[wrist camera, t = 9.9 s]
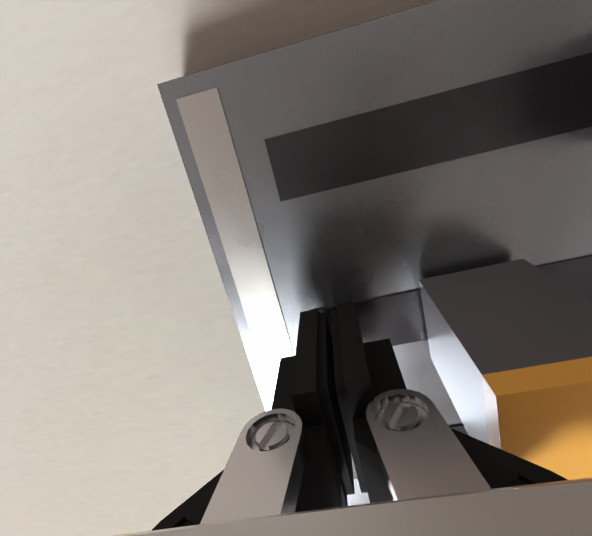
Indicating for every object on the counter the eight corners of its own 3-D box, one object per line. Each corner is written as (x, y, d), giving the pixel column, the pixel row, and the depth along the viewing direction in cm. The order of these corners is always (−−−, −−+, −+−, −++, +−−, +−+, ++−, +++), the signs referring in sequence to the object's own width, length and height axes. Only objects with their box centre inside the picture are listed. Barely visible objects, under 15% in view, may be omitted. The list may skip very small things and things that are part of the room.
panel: (824, -97, 10) (946, -152, 8) (728, 529, 17) (780, 580, 15) (182, 91, 12) (155, 84, 10) (332, 569, 20) (333, 618, 18)
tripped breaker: (523, 258, 11) (694, 365, 6) (528, 341, 12) (680, 495, 7) (418, 279, 12) (495, 396, 6) (431, 358, 12) (508, 515, 7)
